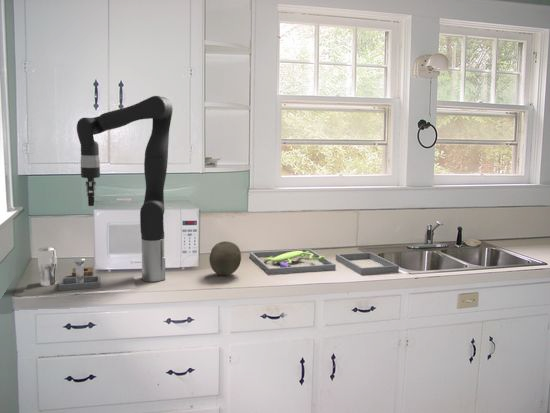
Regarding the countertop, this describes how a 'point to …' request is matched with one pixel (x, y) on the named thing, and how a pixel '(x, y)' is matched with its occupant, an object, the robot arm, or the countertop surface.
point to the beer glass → (47, 265)
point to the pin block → (87, 271)
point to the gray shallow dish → (386, 268)
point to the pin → (79, 269)
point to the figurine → (290, 255)
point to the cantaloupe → (225, 258)
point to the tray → (80, 285)
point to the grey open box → (327, 266)
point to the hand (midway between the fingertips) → (91, 204)
